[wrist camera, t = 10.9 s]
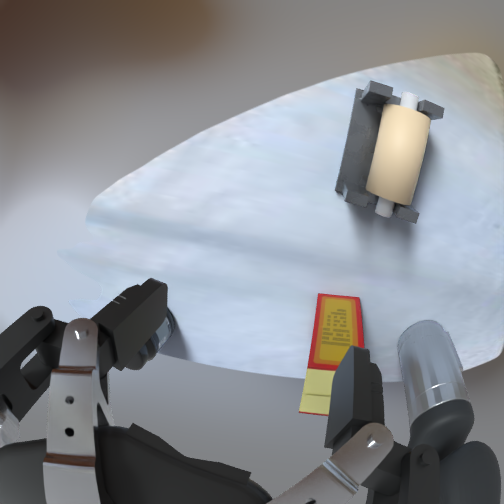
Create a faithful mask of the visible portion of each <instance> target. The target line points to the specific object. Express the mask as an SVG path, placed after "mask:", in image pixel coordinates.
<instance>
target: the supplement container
mask: <svg viewBox="0 0 504 504" xmlns="http://www.w3.org/2000/svg"><path fill="white" fill-rule="evenodd" d="M173 331H174V321H173V318H172V315H171V314H170V312H169V310H168V309H167V315H166V318H165V320H164V322H163V324H162V325H161V326H160V327H159V328H158V329H157V331H156V332H155V333H154V334H153V335H152V336H151V337H150V339H149V340H148V341H147V342H146V343H145V344H144V345H143V347H142V348H141V349H140V350H139V351H138V352H137V353H136V355H135V356H134V357H133V358H132V359H131V360H130V362H129V363H128V364H127V365H126V366H125V367H126V368H129V369H132V370H140V369H141V368H142V367H143V366H144V365H145V364H146V362H147V361H150V360H152V359H153V358H154V357H155V355H156V353H157V352H158V351H159V349H160V348H161V347H162V346H163V344H164V343H165V342H166V341H167V339H168V338H169V337H170V336H171V335H172V333H173Z"/></svg>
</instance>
